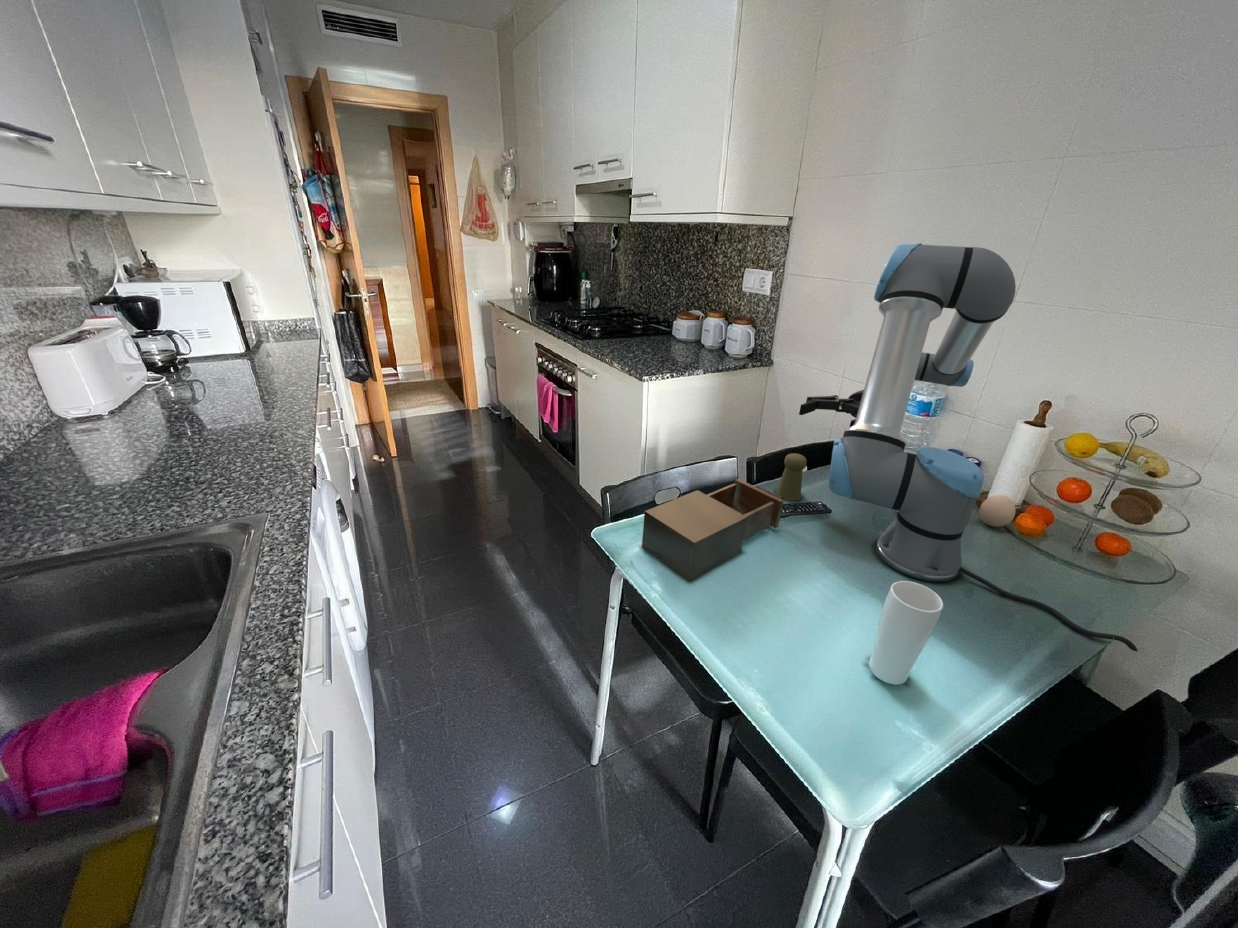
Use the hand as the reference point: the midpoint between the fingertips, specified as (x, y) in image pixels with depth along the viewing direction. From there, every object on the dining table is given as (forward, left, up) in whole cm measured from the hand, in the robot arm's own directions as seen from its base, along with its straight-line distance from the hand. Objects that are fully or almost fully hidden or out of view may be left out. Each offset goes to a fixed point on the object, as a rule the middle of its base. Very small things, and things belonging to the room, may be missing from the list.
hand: (825, 417), depth 125 cm
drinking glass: (-42, +47, -19) cm, 66 cm away
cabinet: (-2, +48, -19) cm, 51 cm away
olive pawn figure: (0, +10, -19) cm, 21 cm away
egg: (-37, -18, -19) cm, 45 cm away
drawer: (-2, +31, -18) cm, 36 cm away
